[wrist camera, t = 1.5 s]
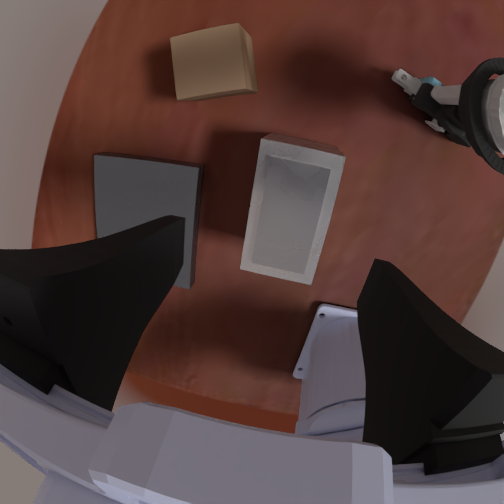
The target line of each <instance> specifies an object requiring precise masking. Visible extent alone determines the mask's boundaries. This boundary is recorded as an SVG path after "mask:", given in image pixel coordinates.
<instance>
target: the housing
mask: <svg viewBox="0 0 504 504" xmlns="http://www.w3.org/2000/svg"><path fill="white" fill-rule="evenodd" d="M345 158H346V157H345V156H344V154H343V153H342V152H341V151H340V149H339V148H338V147H334V146H330V145H326V144H322V143H317V142H313V141H309V140H304V139H299V138H294V137H290V136H285V135H279V134H274V133H270V134H268V135H267V136H265V137H263V138H261V142H260V148H259V154H258V161H257V167H256V173H255V179H254V185H253V191H252V197H251V203H250V209H249V216H248V222H247V228H246V234H245V241H244V247H243V253H242V260H241V266H240V269H242V270H246V271H251V272H255V273H259V274H264V275H268V276H273V277H277V278H282V279H286V280H291V281H295V282H300V283H304V284H309V285H311V283H312V280H313V277H314V274H315V270H316V267H317V264H318V260H319V257H320V254H321V250H322V247H323V243H324V240H325V236H326V233H327V229H328V225H329V222H330V218H331V214H332V210H333V207H334V203H335V199H336V195H337V191H338V187H339V183H340V179H341V175H342V171H343V167H344V163H345Z"/></svg>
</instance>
